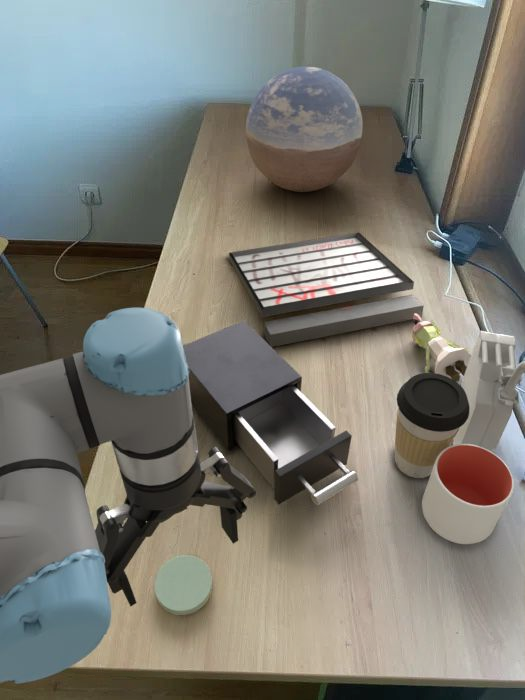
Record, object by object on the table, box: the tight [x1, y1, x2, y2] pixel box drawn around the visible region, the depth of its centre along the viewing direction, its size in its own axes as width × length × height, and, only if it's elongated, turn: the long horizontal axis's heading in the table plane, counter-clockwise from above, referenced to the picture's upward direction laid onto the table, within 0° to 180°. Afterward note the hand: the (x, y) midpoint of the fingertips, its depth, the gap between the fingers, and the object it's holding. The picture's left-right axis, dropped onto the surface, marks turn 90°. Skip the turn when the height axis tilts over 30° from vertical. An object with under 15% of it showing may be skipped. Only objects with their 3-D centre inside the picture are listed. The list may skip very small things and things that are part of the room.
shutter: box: [228, 231, 425, 348], centre depth 120 cm, size 32×7×31 cm
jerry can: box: [452, 330, 525, 454], centre depth 81 cm, size 15×5×25 cm, turn 165°
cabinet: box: [183, 320, 303, 452], centre depth 93 cm, size 17×14×9 cm
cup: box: [421, 444, 515, 545], centre depth 76 cm, size 10×10×10 cm
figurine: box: [409, 313, 471, 383], centre depth 101 cm, size 9×7×15 cm
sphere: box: [245, 65, 364, 193], centre depth 145 cm, size 30×30×30 cm
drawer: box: [232, 385, 359, 506], centre depth 83 cm, size 21×13×7 cm, turn 34°
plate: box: [153, 554, 214, 616], centre depth 71 cm, size 7×7×2 cm
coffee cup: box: [394, 372, 470, 479], centre depth 82 cm, size 10×10×15 cm
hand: (181, 563), depth 67 cm, fingers open, 13 cm apart
